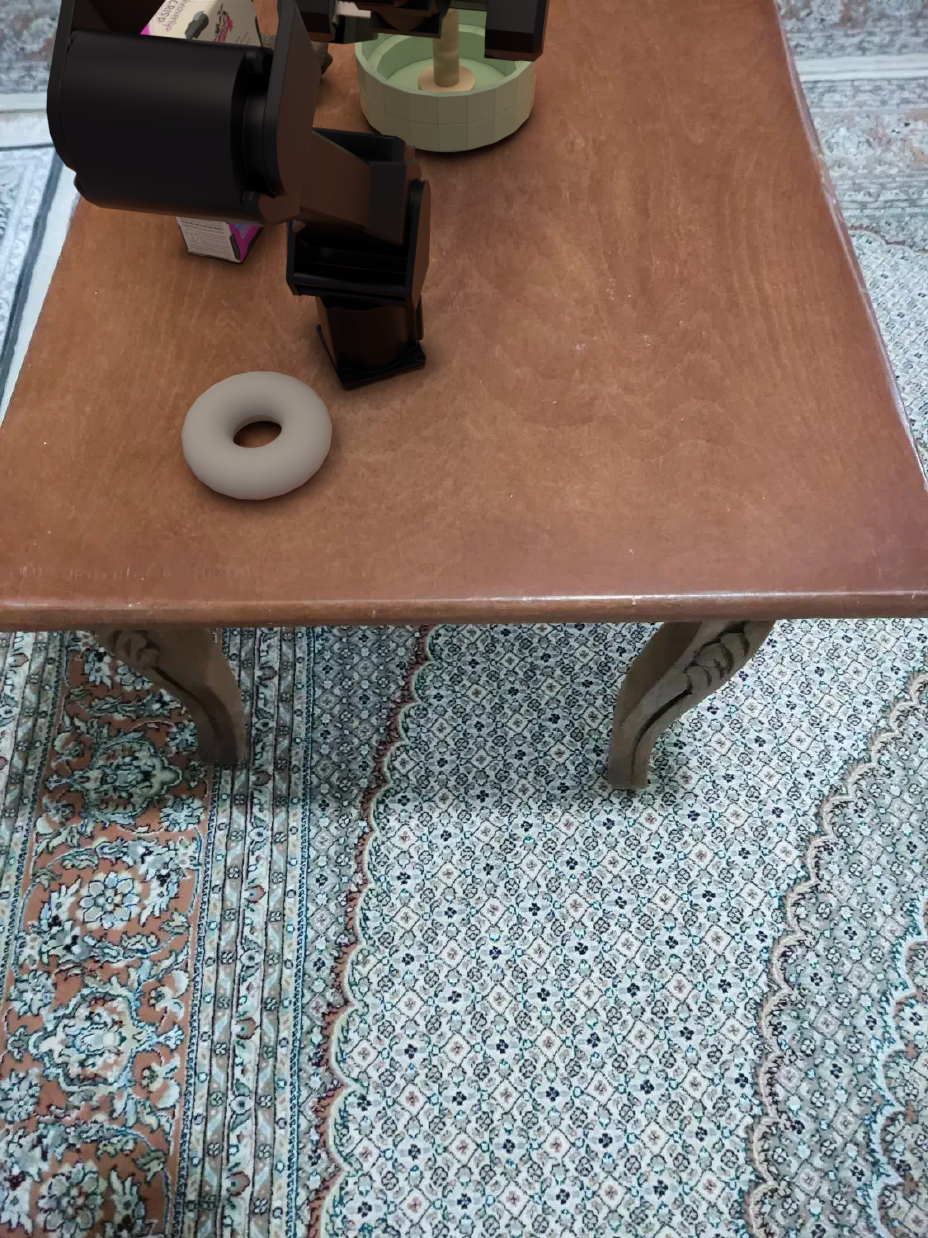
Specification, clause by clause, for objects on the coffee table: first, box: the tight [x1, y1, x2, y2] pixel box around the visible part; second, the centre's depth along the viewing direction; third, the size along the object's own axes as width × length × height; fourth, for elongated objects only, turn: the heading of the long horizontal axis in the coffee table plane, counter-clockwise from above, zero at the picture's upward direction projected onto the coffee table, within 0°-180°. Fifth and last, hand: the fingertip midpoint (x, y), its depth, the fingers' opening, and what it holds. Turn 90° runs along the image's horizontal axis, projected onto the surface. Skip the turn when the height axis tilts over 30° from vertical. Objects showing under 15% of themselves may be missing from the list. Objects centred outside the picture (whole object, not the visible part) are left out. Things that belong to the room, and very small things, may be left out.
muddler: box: [418, 9, 475, 92], centre depth 72 cm, size 5×5×14 cm
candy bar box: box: [141, 0, 263, 264], centre depth 65 cm, size 11×5×16 cm, turn 164°
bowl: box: [354, 9, 538, 153], centre depth 76 cm, size 15×15×6 cm
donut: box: [180, 370, 333, 501], centre depth 59 cm, size 10×4×10 cm
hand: (433, 36), depth 69 cm, fingers open, 9 cm apart
